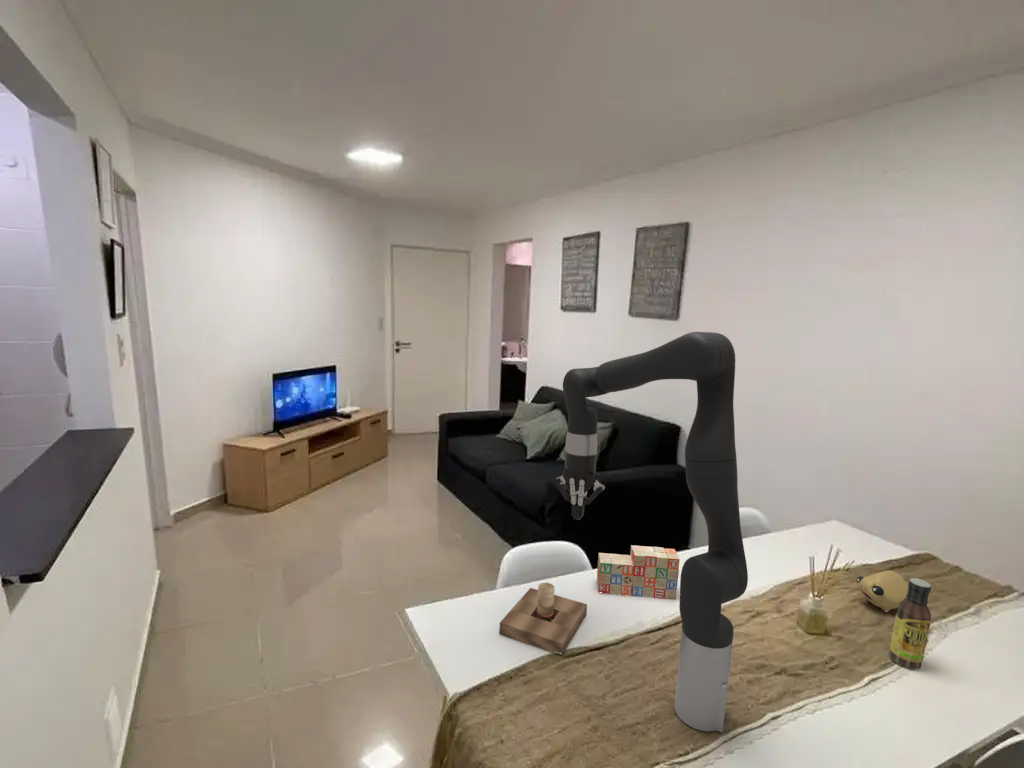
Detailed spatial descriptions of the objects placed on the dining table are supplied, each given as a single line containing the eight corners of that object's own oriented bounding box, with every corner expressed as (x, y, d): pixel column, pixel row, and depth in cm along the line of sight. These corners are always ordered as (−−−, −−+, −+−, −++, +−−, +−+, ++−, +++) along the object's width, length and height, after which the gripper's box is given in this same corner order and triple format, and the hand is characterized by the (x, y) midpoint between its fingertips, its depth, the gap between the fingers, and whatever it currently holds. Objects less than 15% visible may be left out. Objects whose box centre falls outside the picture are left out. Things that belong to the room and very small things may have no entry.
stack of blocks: (597, 593, 145) (600, 552, 143) (596, 582, 151) (599, 542, 149) (676, 600, 143) (680, 558, 141) (671, 588, 149) (675, 548, 147)
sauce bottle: (899, 669, 118) (912, 588, 115) (882, 651, 124) (894, 573, 121) (929, 672, 117) (943, 590, 114) (910, 654, 123) (923, 576, 120)
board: (586, 615, 134) (587, 604, 134) (561, 655, 118) (562, 643, 118) (529, 598, 141) (530, 587, 141) (499, 634, 125) (499, 622, 125)
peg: (555, 622, 131) (557, 585, 129) (549, 631, 127) (551, 593, 126) (540, 617, 132) (541, 581, 131) (533, 626, 129) (535, 588, 127)
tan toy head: (846, 598, 147) (851, 562, 146) (883, 596, 149) (888, 561, 147) (875, 618, 138) (880, 581, 136) (914, 616, 139) (920, 579, 138)
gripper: (549, 449, 125) (546, 518, 128) (603, 457, 120) (599, 529, 122) (560, 443, 132) (557, 508, 134) (611, 450, 126) (607, 518, 129)
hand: (577, 518), depth 128 cm, fingers closed
